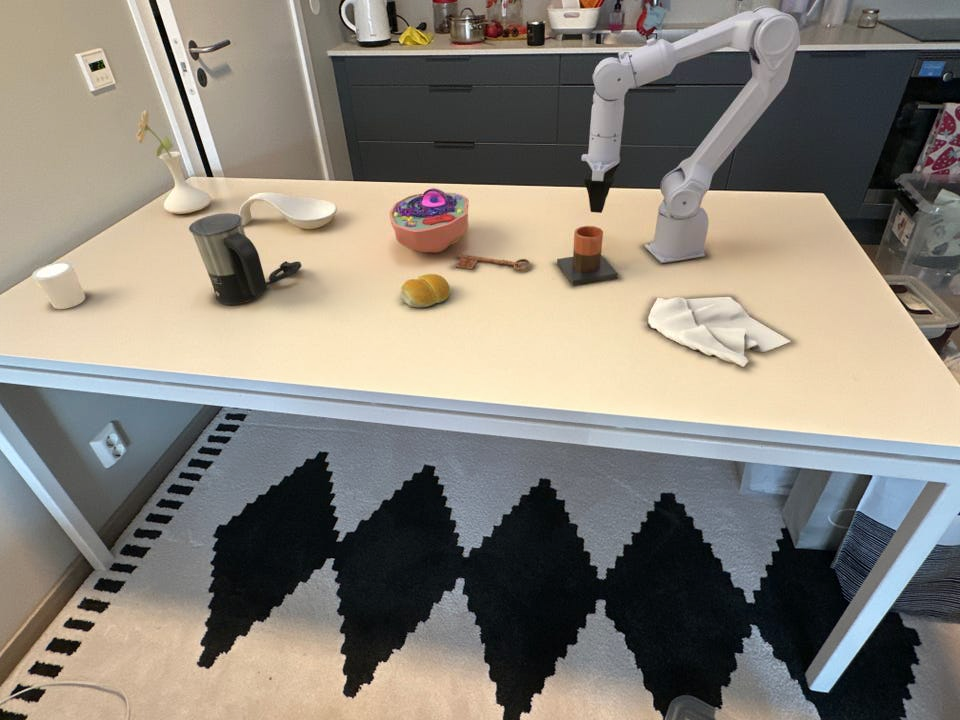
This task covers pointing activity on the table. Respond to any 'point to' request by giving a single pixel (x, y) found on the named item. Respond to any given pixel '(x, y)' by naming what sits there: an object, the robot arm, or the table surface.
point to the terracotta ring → (588, 240)
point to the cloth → (713, 327)
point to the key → (472, 261)
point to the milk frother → (233, 259)
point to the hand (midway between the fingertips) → (599, 203)
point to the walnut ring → (586, 262)
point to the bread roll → (425, 290)
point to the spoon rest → (293, 209)
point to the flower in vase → (176, 177)
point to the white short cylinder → (59, 284)
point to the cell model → (430, 220)
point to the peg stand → (583, 277)
